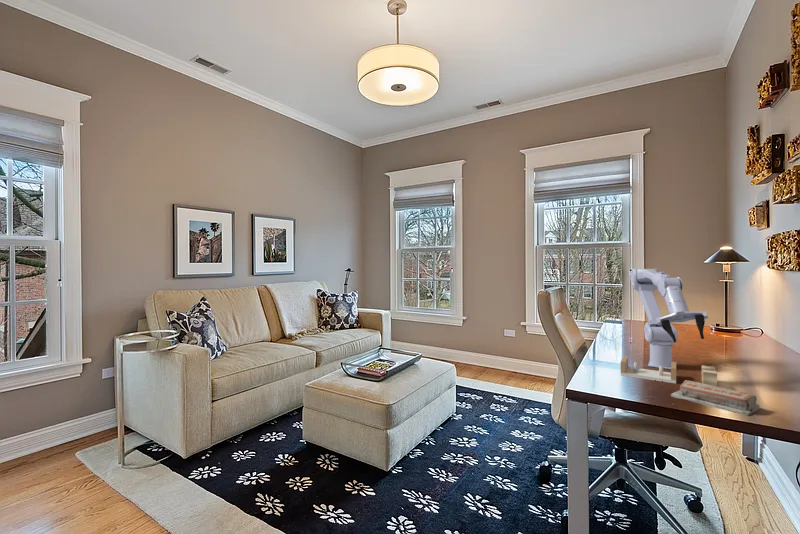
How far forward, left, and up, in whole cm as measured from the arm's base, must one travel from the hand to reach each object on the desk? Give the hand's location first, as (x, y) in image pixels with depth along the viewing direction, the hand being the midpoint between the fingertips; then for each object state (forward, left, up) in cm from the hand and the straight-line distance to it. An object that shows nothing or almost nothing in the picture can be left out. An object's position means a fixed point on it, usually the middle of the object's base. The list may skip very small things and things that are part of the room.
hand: (688, 339), depth 128 cm
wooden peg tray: (-2, -11, -15) cm, 19 cm away
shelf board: (-3, +6, -15) cm, 16 cm away
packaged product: (+19, +5, -15) cm, 25 cm away
